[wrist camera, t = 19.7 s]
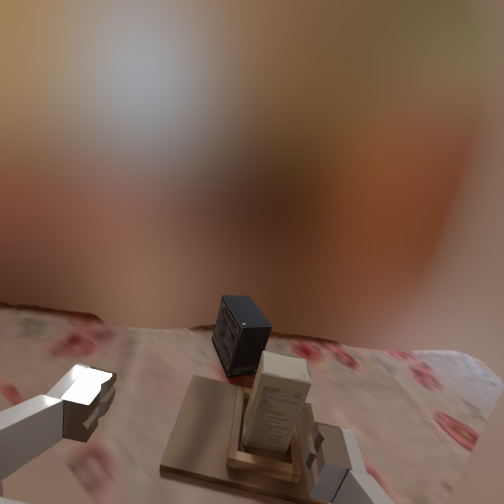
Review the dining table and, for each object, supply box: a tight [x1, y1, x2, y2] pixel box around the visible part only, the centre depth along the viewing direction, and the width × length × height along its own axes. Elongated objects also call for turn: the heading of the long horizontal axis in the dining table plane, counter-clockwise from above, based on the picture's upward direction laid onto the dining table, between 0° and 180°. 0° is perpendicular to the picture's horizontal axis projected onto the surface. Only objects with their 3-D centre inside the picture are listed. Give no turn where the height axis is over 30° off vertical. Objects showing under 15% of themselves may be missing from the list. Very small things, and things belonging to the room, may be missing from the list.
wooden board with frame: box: [160, 375, 328, 504], centre depth 38 cm, size 20×14×2 cm
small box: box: [212, 295, 272, 377], centre depth 51 cm, size 11×6×10 cm, turn 24°
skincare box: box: [242, 351, 312, 453], centre depth 36 cm, size 6×4×12 cm
